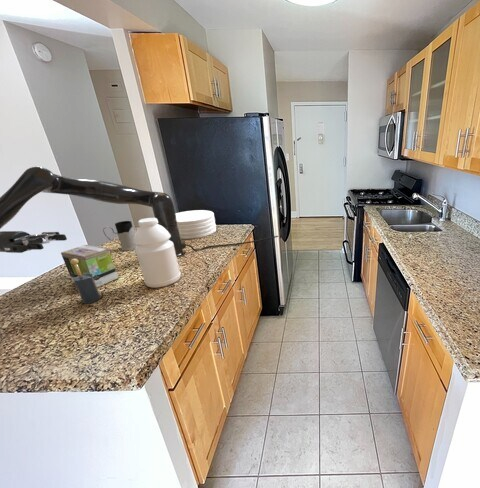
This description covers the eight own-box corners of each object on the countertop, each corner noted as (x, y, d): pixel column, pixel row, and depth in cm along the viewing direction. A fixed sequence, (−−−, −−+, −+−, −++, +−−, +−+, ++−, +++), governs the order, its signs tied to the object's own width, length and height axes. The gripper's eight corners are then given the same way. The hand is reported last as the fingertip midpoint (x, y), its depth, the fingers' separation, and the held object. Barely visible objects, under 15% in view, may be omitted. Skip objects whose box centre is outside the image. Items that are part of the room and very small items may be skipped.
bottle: (143, 291, 107) (123, 226, 96) (146, 276, 118) (129, 217, 108) (181, 283, 113) (166, 221, 102) (181, 270, 124) (168, 213, 114)
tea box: (119, 277, 117) (109, 247, 112) (95, 289, 108) (82, 256, 103) (97, 272, 122) (86, 243, 116) (71, 283, 113) (58, 252, 108)
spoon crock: (102, 294, 105) (87, 254, 98) (98, 301, 100) (82, 260, 94) (85, 297, 103) (68, 257, 96) (80, 304, 98) (62, 262, 91)
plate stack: (188, 224, 191) (185, 209, 186) (223, 226, 187) (221, 210, 183) (160, 238, 165) (156, 220, 161) (201, 240, 161) (198, 222, 157)
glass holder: (138, 248, 149) (131, 223, 143) (107, 253, 143) (98, 227, 137) (140, 243, 156) (133, 219, 150) (111, 247, 150) (103, 223, 144)
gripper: (-21, 239, 85) (28, 239, 85) (26, 225, 98) (68, 225, 98) (-9, 259, 88) (37, 259, 88) (35, 243, 101) (76, 243, 101)
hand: (54, 241), depth 93 cm, fingers open, 8 cm apart
